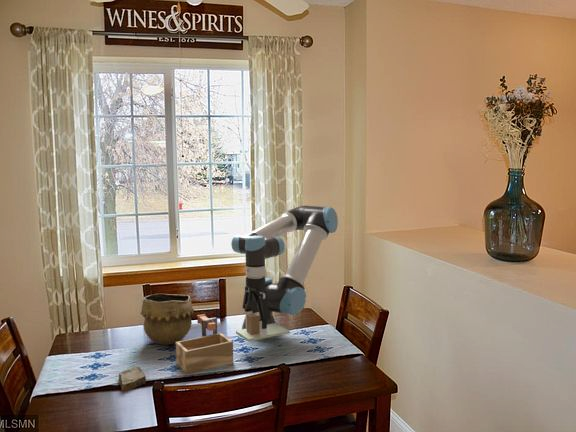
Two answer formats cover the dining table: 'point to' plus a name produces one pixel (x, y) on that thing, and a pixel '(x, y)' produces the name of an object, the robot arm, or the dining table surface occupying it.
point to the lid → (254, 329)
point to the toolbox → (204, 352)
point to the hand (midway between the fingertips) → (256, 332)
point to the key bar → (209, 325)
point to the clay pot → (167, 317)
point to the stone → (131, 378)
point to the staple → (205, 325)
